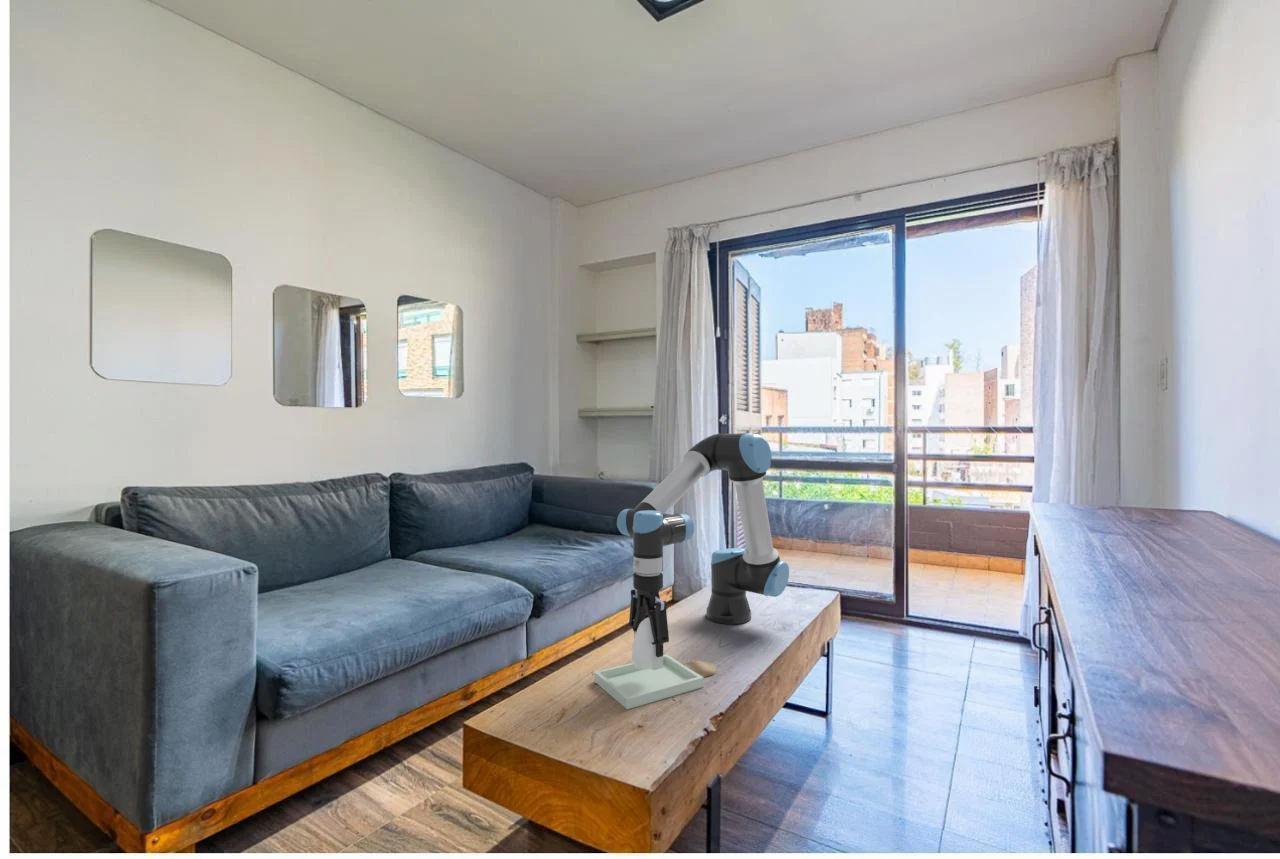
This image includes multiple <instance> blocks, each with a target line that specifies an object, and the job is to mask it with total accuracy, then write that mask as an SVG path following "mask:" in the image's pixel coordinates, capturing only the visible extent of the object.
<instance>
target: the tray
mask: <svg viewBox="0 0 1280 859" xmlns="http://www.w3.org/2000/svg"><path fill="white" fill-rule="evenodd" d="M684 665H685V664H682V663H681V662H680V661H678V660H676V659H675V658H673V657H671V656H670V655H668V654H667V653H666V654H663V668H661V669H657V670H652V669H649V670H642V669H638V668H636V667H635V666H634V663H633V662H629V663H625V664H621V665H617V666H613V667H609V668H605V669H601V670H598V671H594V683H596V684H597V686H599V687H601V688H602V689H603V690H604V691H605V692H606V693H607V694H609V696H611V697H612V698H613V699H615V700H616V701H617V702H618V704H620V705H621V706H622V707H623V708H625V709H626V710H630V709H634V708H637V707H640V706H643V705H647V704H651V703H654V702H657V701H661V700H664V699H668V698H672V697H675V696H678V695H681V694H684V693H688V692H692V691H695V690H698V689H701V688H704V687H705V686H704V684H705V683H704V679H705V677H702V676H701V675H699V674H697V673H696V672H694V671H692V670H691V669H689V668H688V667H686V666H684Z"/></svg>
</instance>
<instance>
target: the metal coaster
mask: <svg viewBox="0 0 1280 859" xmlns="http://www.w3.org/2000/svg"><path fill="white" fill-rule="evenodd" d="M683 665H684V666H686V667H688V668H689V669H691V670H692V671H694V672H696V673H697V674H699V675H701V676H702V677H704V678H709V677H712V676H714V675H715V674H717V667H716V666H715V665H714V664H713V663H711V662H706V661H698V660H697V661H696V660H695V661H690V662H687V663H685V664H683Z"/></svg>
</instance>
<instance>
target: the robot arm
mask: <svg viewBox="0 0 1280 859" xmlns="http://www.w3.org/2000/svg"><path fill="white" fill-rule="evenodd" d="M771 460H772V450H771V447H770V445H769V443H768V441H767V440H766V438H764V437H763V436H762V435H761V434H755V433H750V432H749V433H748V432H747V433H715V434H711V435H710V436H707V437H705V438H703V439H702V440H700V441H699V442H698V443H696V444H695V445H693V446H692V447H691V448H690V449H689V450H688V451H687V452H686V453H685V454H684V456H683V459H682V461H681V462H680V463H679V464H678V465H677V466H676V467H675V468H674V469H673V470H672V471H671V472H670V473H669V474H668V475H667V476H666V477H664V479H663V480H662V481H661V482H660V483H659V484H657V486H656V487H655V488H653V490H652V491H651V492H650V493H649V494H648V495H647V496H646V497H645V498H644V499H643V500H642V501H641V502H640V503H639V504H638V505H636V506H635V508H625V509H623V510H621V511H620V512H619V513H618V515H617V519H616V526H617V529H618V531H619V532H620V534H622V535H625V536H628V537H630V538H633V539H632V541H633V542H632V543H633V545H632V546H633V550H632V551H633V554H632V555H633V561H632V564H633V572H634V573H633V575H632V576H633V579H632V581H633V583H632V585H633V588H634V589H631V590H630V608H629V609H630V610H629V618H628V619H629V620H628V624H629V627H632V631H633V640H634V639H635V636H636V632H637V629H638V627H639V625H640V623H641V622H642V621H643V620H644V619H645V618H647V617H646V616H648V618H649V619H650V624H651V629H652V634H653V639H654V642H652V670H657V669H661V668H663V655H664V644H666V643H669V641H670V635H669V627H668V616H667V615H668V614H667V606H668V602H667V600H662V599H661V597H660V593H659V592H660V591H661V590H662V589H663V587H664V575H663V573H662V572H664V547H666V546H669V545H670V546H671V545H674V544H681V543H684V542H685V541H688V540H690V539H692V537H693V536H694V532H695V523H694V521H693V519H692V517H691V516H690V515H688V514H687V513H679V512H676V513H674V514H669V513H668V512H669V511H670V510H671V509H672V508H673V507H674V506H675V505H676V504H677V503H678V502H679V501H680V500H681V498H682V497H684V495H686V493H687V492H688V491H689V490H690V489H691V488H692V487H693V486H694V485H695V484H696V483H697V482H698V481H699V479H701V478H705V477H706V476H708V475H709V474H710V473H711V472H714V471H717V470H718V471H727V475H728V479H729V481H731V482H732V483H733V484H734V486H735V491H736V492H735V493H736V497H737V504H738V509H739V515H740V522H741V527H742V533H743V539H744V545H745V548H740V547H738V548H737V547H734V548H733V547H732V548H731V547H730V548H723V549H718V550H715V551H713V552H712V553H711V563H710V565H711V566H710V567H711V568H710V569H711V571H710V572H711V578H710V579H711V594H710V597H709V601H708V605H707V608H706V611H705V612H706V619H708V620H710V621H711V622H713V623H718V624H724V625H740V624H741V625H742V624H745V623H748V622H750V621H751V619H752V610H751V608H750V604H749V601H748V598H747V592H749V593H754V594H757V595H758V594H759V595H761V596H765V597H773V598H776V597H779V596H781V594H783V592H784V591H785V590H786V588H787V585H788V581H789V578H790V567H789V564H788V563H787V562H786V561H784V560H781V557H780V553H779V551H778V549H776V548H774V546H773V538H772V537H773V536H772V534H771V533H772V532H771V525H770V519H769V513H768V507H767V499H766V494H765V488H764V487H765V486H764V482H763V479H765V477H766V475H767V471H769V469H770V468H771V465H772V462H771Z"/></svg>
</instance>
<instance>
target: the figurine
mask: <svg viewBox="0 0 1280 859" xmlns="http://www.w3.org/2000/svg"><path fill="white" fill-rule="evenodd" d="M652 642H654V639H653V634H652V629H651V624H650V619H649V617H645V619H644V620H643V621H642V622H641V623H640V625H639V627H638V629H637V632H636V636H635V639H634V638H633V642H632V651H631V652H632V655H631V656H632V663H634V666H635V667H636V668H638V669H642V670H649V669H652Z"/></svg>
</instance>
